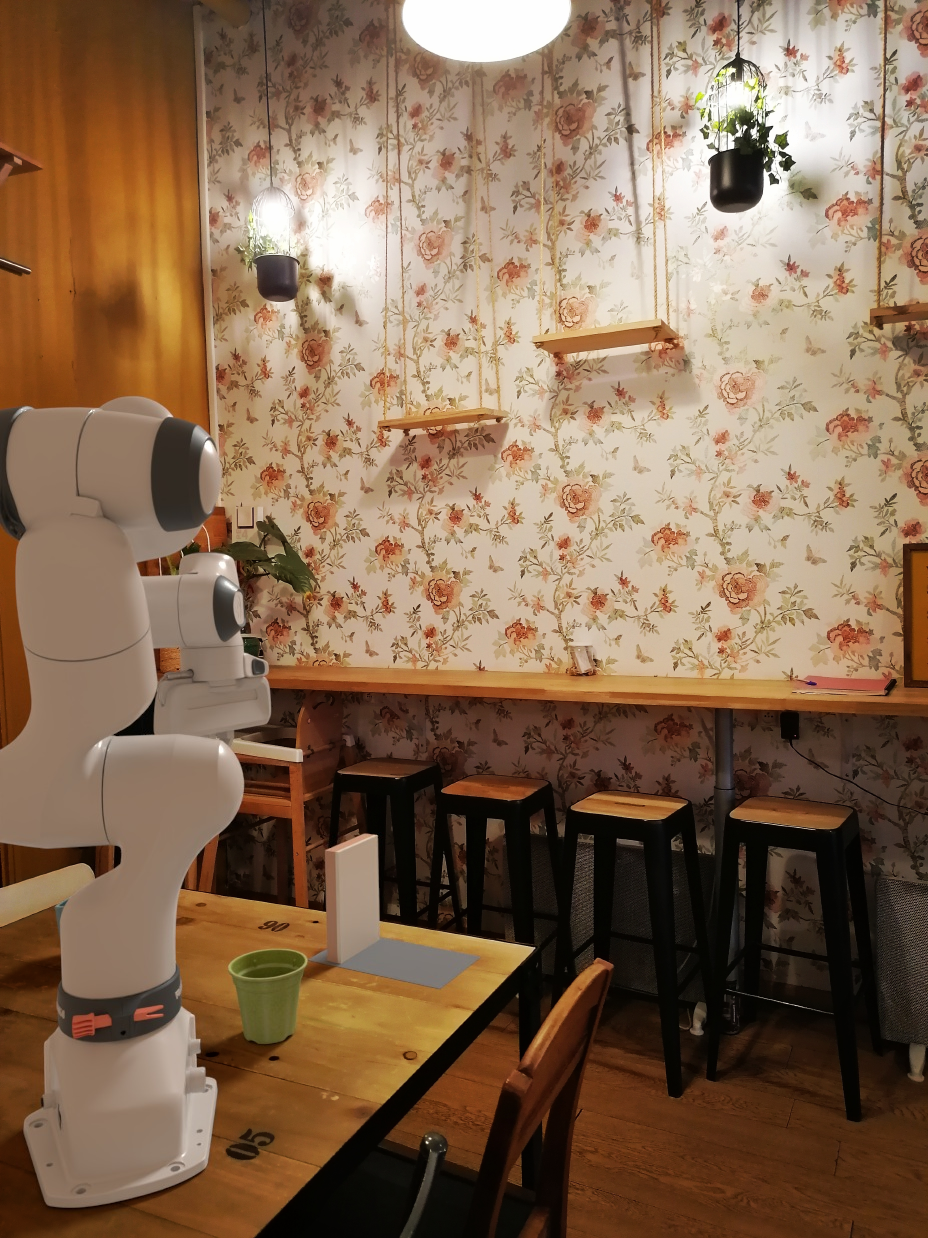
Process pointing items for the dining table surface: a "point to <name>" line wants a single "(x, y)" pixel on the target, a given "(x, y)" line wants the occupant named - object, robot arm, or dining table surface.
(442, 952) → the mat
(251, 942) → the dining table surface
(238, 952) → the dining table surface
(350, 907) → the tile
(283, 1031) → the plant pot
